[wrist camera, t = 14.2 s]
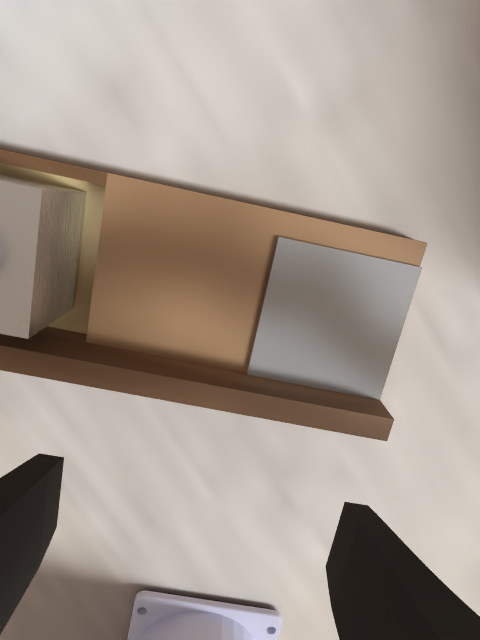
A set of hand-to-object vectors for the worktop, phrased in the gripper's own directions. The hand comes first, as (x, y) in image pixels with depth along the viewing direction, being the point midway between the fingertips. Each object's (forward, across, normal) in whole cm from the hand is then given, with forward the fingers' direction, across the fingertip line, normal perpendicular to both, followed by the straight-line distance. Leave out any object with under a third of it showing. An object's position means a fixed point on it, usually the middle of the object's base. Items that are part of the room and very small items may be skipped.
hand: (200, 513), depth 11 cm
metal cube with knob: (+10, +9, -4) cm, 14 cm away
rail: (+10, +5, -4) cm, 11 cm away
